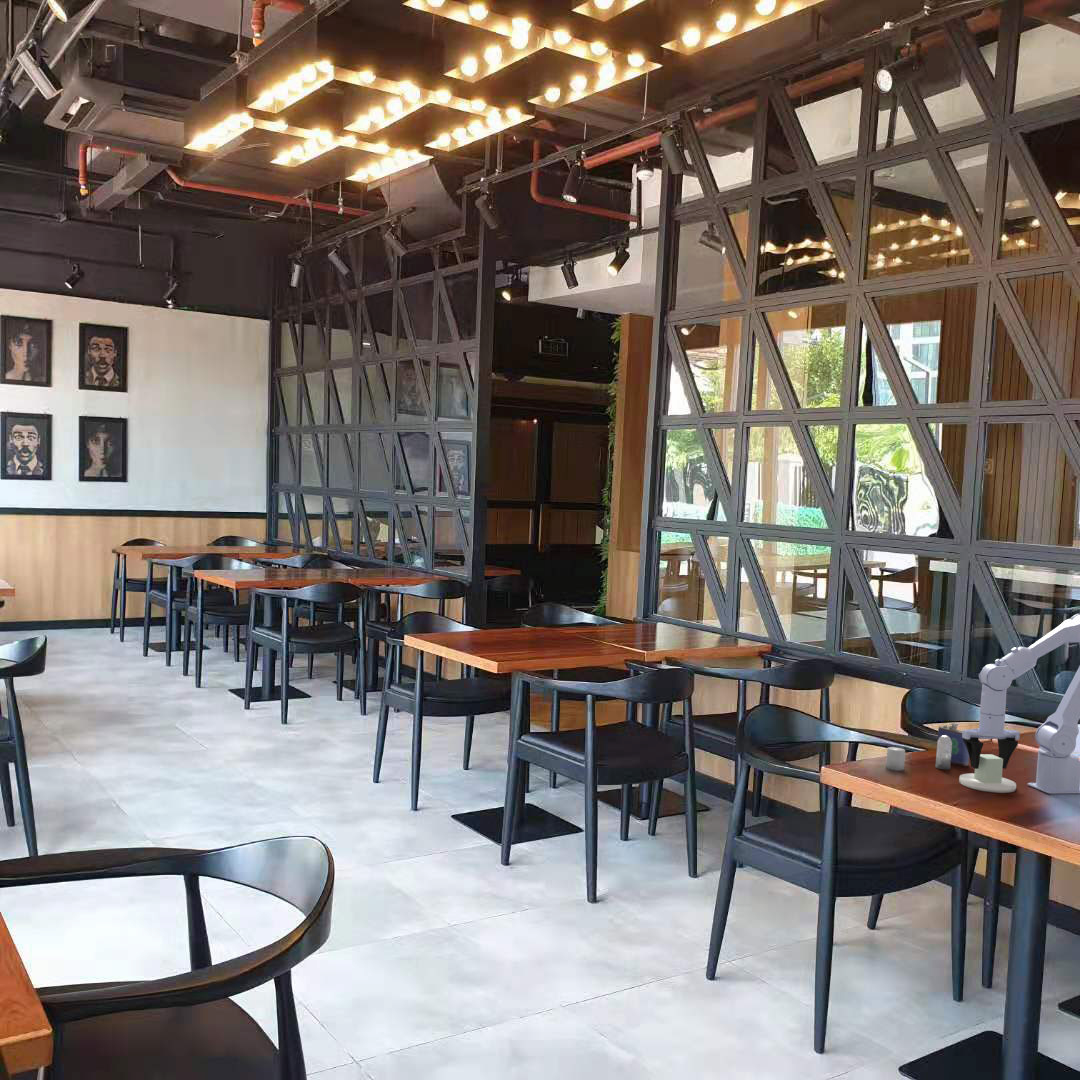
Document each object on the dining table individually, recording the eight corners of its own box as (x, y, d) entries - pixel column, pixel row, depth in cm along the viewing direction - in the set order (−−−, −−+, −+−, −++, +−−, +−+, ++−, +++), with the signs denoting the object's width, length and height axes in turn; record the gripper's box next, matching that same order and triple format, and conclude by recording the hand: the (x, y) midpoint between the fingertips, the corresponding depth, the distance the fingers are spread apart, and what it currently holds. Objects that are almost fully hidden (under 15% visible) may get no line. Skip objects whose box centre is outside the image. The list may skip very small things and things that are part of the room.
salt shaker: (945, 765, 285) (947, 733, 284) (952, 769, 281) (955, 737, 281) (932, 765, 284) (935, 733, 284) (940, 769, 281) (943, 736, 280)
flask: (970, 765, 287) (973, 726, 286) (964, 767, 285) (967, 727, 284) (939, 758, 294) (941, 719, 293) (933, 759, 292) (935, 720, 292)
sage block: (990, 778, 270) (991, 754, 269) (1001, 783, 265) (1003, 758, 265) (974, 778, 269) (975, 754, 268) (985, 783, 264) (986, 759, 264)
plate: (994, 778, 275) (995, 773, 275) (1027, 792, 262) (1027, 787, 262) (948, 778, 272) (949, 773, 272) (979, 792, 259) (979, 788, 259)
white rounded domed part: (898, 766, 282) (899, 747, 282) (907, 770, 278) (908, 751, 278) (882, 766, 281) (884, 747, 281) (891, 770, 277) (892, 751, 277)
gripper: (1008, 710, 272) (1004, 763, 272) (956, 709, 269) (952, 763, 269) (1026, 716, 265) (1022, 770, 265) (973, 715, 262) (969, 770, 262)
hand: (988, 767), depth 267 cm, fingers open, 7 cm apart
